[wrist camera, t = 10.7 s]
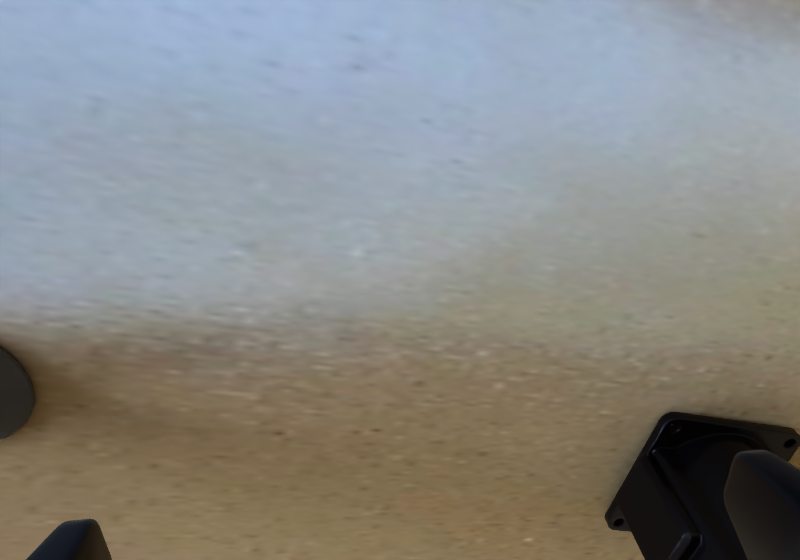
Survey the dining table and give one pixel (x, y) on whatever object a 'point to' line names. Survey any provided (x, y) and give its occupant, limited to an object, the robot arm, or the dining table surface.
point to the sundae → (13, 395)
